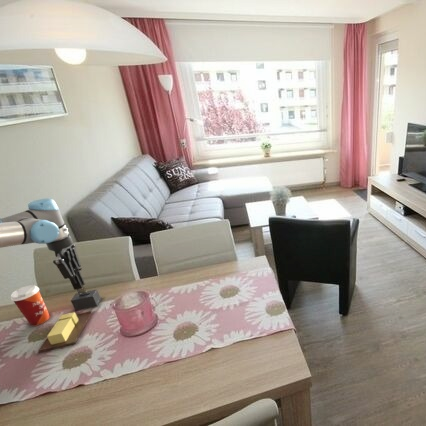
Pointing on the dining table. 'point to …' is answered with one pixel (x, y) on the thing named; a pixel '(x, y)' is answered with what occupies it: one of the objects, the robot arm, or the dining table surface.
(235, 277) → the dining table surface
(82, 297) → the dark grey block
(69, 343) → the butter board
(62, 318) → the butter pat
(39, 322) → the coffee cup
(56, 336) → the butter stick
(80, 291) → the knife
